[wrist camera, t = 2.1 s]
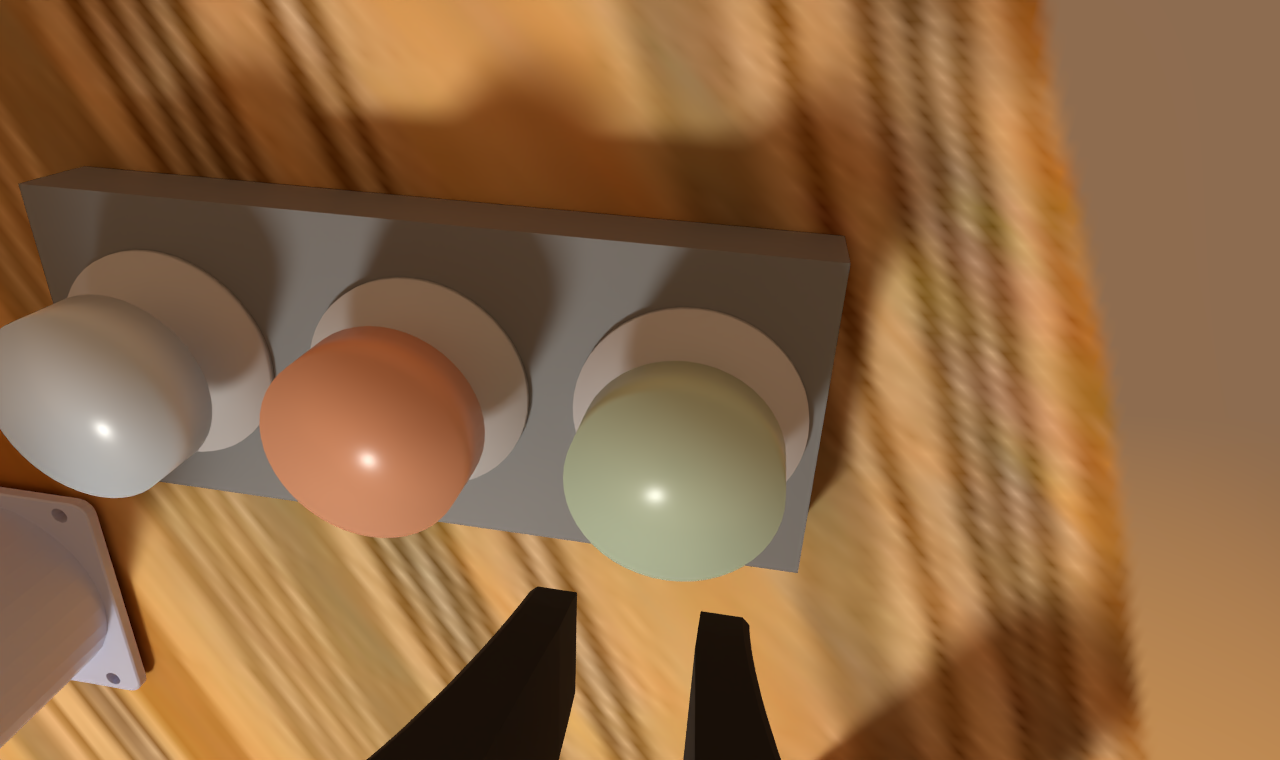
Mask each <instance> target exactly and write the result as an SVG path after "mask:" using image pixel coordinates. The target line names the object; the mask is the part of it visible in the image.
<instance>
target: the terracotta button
mask: <svg viewBox="0 0 1280 760" xmlns="http://www.w3.org/2000/svg"><path fill="white" fill-rule="evenodd" d="M259 427H260V435H261V440H262V444H263V448H264V451H265V454H266V456H267V459H268V461H269V463H270V465H271V467H272V469H273V471H274V473H275V474H276V475H277V477H278V478H279V480H280V481H281V483H282V484H283V485H284V487H285V488H286V489H287V490H288V491H289V493H290V494H291V495H292V496H293V497H294V498H295V499H296V500H297V501H298V502H299V503H301V504H302V505H303V506H304V507H306V508H307V509H308V510H309V511H311V512H312V513H314V514H315V515H317V516H318V517H320V518H321V519H323V520H325V521H326V522H328V523H330V524H332V525H334V526H336V527H339V528H341V529H344V530H346V531H349V532H353V533H356V534H360V535H364V536H369V537H379V538H395V537H402V536H408V535H411V534H415V533H418V532H420V531H422V530H425V529H427V528H429V527H430V526H432V525H433V524H435V523H436V522H438V521H439V520H440V519H441V518H442V517H443V516H444V515H445V514H446V513H447V512H448V510H449V509H450V508H451V506H452V505H453V503H454V502H455V500H456V499H457V497H458V496H459V494H460V492H461V491H462V489H463V488H464V486H465V485H466V483H467V482H468V480H469V478H470V477H471V475H472V474H473V472H474V471H475V469H476V467H477V465H478V463H479V461H480V458H481V455H482V453H483V447H484V442H485V427H484V419H483V415H482V411H481V407H480V404H479V402H478V399H477V397H476V395H475V393H474V391H473V389H472V387H471V385H470V384H469V382H468V381H467V379H466V378H465V377H464V375H463V374H462V373H461V371H460V370H459V369H458V368H457V367H456V366H455V365H454V364H453V363H452V362H451V361H450V360H449V359H448V358H447V357H446V356H445V355H444V354H442V353H441V352H440V351H438V350H437V349H436V348H434V347H433V346H431V345H430V344H428V343H426V342H424V341H423V340H421V339H419V338H417V337H415V336H412V335H410V334H408V333H405V332H402V331H398V330H395V329H391V328H385V327H379V326H360V327H352V328H348V329H343V330H341V331H338V332H336V333H333V334H331V335H329V336H328V337H326V338H324V339H323V340H321V341H320V342H319V343H317V344H316V345H315V346H314V347H312V348H311V349H310V350H308V351H307V352H306V353H304V354H303V355H302V356H301V357H299V358H298V359H297V360H295V361H294V362H293V363H291V364H290V365H289V366H288V367H286V368H285V369H284V370H283V371H282V372H280V373H279V374H278V375H277V376H276V378H275V379H274V380H273V381H272V382H271V384H270V386H269V387H268V389H267V391H266V393H265V395H264V398H263V401H262V404H261V410H260V421H259Z"/></svg>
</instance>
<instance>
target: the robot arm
mask: <svg viewBox="0 0 1280 760" xmlns="http://www.w3.org/2000/svg"><path fill="white" fill-rule="evenodd" d="M576 616H577V592H570V591H563V590H557V589H550V588H544V587H536V588H535V589H533V590H532V591H530V592H529V594H528V595H527V596H526V598H525V599H524V600H523V601H522V603H521V604H520V605H519V606H518V608H517V609H516V610H515V611H514V612H513V614H512V615H511V616H510V617H509V618H508V620H507V621H506V622H505V623H504V624H503V626H502V627H501V628H500V629H499V630H498V631H497V632H496V634H495V635H494V636H493V637H492V638H491V639H490V640H489V641H488V643H487V644H486V645H485V646H484V647H483V648H482V649H481V650H480V652H479V653H478V654H477V655H476V656H475V657H474V658H473V659H472V660H471V661H470V662H469V663H468V664H467V665H466V666H465V667H464V668H463V670H462V671H461V672H460V673H459V674H458V675H457V676H456V677H455V678H454V679H453V680H452V681H451V682H450V683H449V684H448V685H447V686H446V687H445V688H444V689H443V690H442V691H441V692H440V693H439V694H438V695H437V696H436V697H435V698H434V699H433V700H432V701H431V702H430V703H429V704H428V705H427V706H426V707H425V708H424V709H423V710H421V711H420V712H419V713H418V714H417V715H416V716H415V717H414V718H413V719H412V720H411V721H410V722H409V723H408V724H407V725H406V726H405V727H404V728H403V729H401V730H400V731H399V732H398V733H397V734H396V735H395V736H394V737H393V738H391V739H390V740H389V741H388V742H387V743H386V744H385V745H383V746H382V747H381V748H380V749H379V750H378V751H377V752H375V753H374V754H373V755H372V756H371V757H369V758H368V759H367V760H559V756H560V752H561V748H562V744H563V740H564V736H565V732H566V728H567V724H568V720H569V716H570V712H571V707H572V703H573V699H574V695H575V674H576ZM70 680H76V681H81V682H87V683H92V684H98V685H104V686H109V687H115V688H120V689H126V690H137V689H139V688H140V687H141V685H142V684H143V683H144V682H145V681H146V673H145V670H144V667H143V664H142V660H141V657H140V654H139V650H138V647H137V644H136V641H135V637H134V634H133V631H132V628H131V624H130V621H129V618H128V614H127V611H126V608H125V605H124V601H123V598H122V595H121V592H120V588H119V585H118V582H117V578H116V575H115V572H114V569H113V565H112V562H111V559H110V556H109V552H108V549H107V546H106V542H105V539H104V536H103V533H102V529H101V526H100V523H99V520H98V516H97V513H96V511H95V509H94V507H93V506H92V505H91V504H90V503H88V502H87V501H85V500H82V499H79V498H73V497H66V496H59V495H53V494H46V493H39V492H32V491H26V490H19V489H12V488H5V487H0V748H1V747H2V746H3V745H4V744H5V743H6V742H7V741H8V740H9V739H10V738H12V737H13V736H14V735H15V734H16V733H17V732H18V731H19V730H20V729H21V728H22V727H23V726H24V725H25V724H26V723H27V722H28V721H29V720H30V719H31V718H32V717H33V716H34V715H35V714H36V713H37V712H38V711H39V710H40V709H41V708H42V707H43V706H44V705H45V704H46V703H47V702H48V701H49V700H51V699H52V698H53V697H54V696H55V695H56V694H57V693H58V692H59V691H60V690H61V689H62V688H63V687H64V686H65V685H66V684H67V683H68V682H69V681H70ZM683 760H781V758H780V756H779V753H778V750H777V746H776V743H775V740H774V737H773V734H772V731H771V727H770V724H769V721H768V718H767V715H766V711H765V708H764V704H763V700H762V697H761V693H760V688H759V684H758V680H757V676H756V672H755V667H754V662H753V656H752V650H751V642H750V633H749V624H748V623H747V622H746V621H745V620H744V619H743V618H742V617H735V616H729V615H722V614H716V613H709V612H702V611H701V614H700V620H699V626H698V633H697V640H696V646H695V655H694V664H693V674H692V683H691V693H690V702H689V712H688V721H687V731H686V740H685V750H684V759H683Z"/></svg>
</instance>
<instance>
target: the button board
mask: <svg viewBox="0 0 1280 760" xmlns="http://www.w3.org/2000/svg"><path fill="white" fill-rule="evenodd" d="M19 188H20V191H21V195H22V198H23V201H24V205H25V208H26V212H27V215H28V218H29V222H30V225H31V229H32V232H33V236H34V239H35V242H36V246H37V249H38V253H39V256H40V259H41V263H42V266H43V270H44V273H45V276H46V280H47V283H48V287H49V290H50V293H51V297H52V300H53V304H54V303H57V302H59V301H61V300H64V299H66V298H69V297H73V296H76V295H85V294H93V295H103V296H109V297H113V298H116V299H120V300H123V301H126V302H128V303H130V304H133V305H135V306H137V307H139V308H141V309H142V310H144V311H146V312H148V313H149V314H151V315H152V316H154V317H155V318H157V319H158V320H160V321H161V322H162V323H163V324H164V325H166V326H167V327H168V328H169V329H170V330H171V331H172V332H173V333H174V334H175V335H176V336H177V337H178V338H179V339H180V340H181V341H182V342H183V343H184V345H185V346H186V347H187V348H188V349H189V351H190V352H191V354H192V355H193V357H194V358H195V360H196V361H197V363H198V365H199V367H200V368H201V370H202V372H203V374H204V377H205V379H206V382H207V384H208V388H209V392H210V395H211V402H212V421H211V427H210V430H209V433H208V436H207V438H206V440H205V441H204V443H203V445H202V446H201V447H200V448H199V449H198V450H197V451H196V452H195V453H194V454H193V455H191V456H190V457H189V458H188V459H186V460H185V461H184V462H183V463H181V464H180V465H179V466H178V467H176V468H175V469H174V470H173V471H171V472H170V473H169V474H168V475H166V476H165V477H164V478H163V479H161V480H160V481H159V482H166V483H173V484H180V485H187V486H194V487H201V488H208V489H215V490H222V491H229V492H236V493H243V494H250V495H257V496H264V497H271V498H278V499H285V500H292V501H297V500H296V499H295V498H294V497H293V496H292V495H291V494H290V493H289V491H288V490H287V489H286V488H285V487H284V485H283V484H282V483H281V481H280V480H279V478H278V477H277V475H276V474H275V473H274V471H273V469H272V467H271V465H270V463H269V461H268V459H267V456H266V454H265V451H264V448H263V444H262V440H261V435H260V427H259V421H260V410H261V404H262V401H263V398H264V395H265V393H266V391H267V389H268V387H269V386H270V384H271V382H272V381H273V380H274V379H275V378H276V376H277V375H278V374H279V373H280V372H282V371H283V370H284V369H285V368H286V367H288V366H289V365H290V364H291V363H293V362H294V361H295V360H297V359H298V358H299V357H301V356H302V355H303V354H304V353H306V352H307V351H308V350H310V349H311V348H312V347H314V346H315V345H316V344H317V343H319V342H320V341H321V340H323V339H324V338H326V337H328V336H329V335H331V334H333V333H336V332H338V331H341V330H343V329H348V328H352V327H360V326H379V327H385V328H391V329H395V330H398V331H402V332H405V333H408V334H410V335H412V336H415V337H417V338H419V339H421V340H423V341H424V342H426V343H428V344H430V345H431V346H433V347H434V348H436V349H437V350H438V351H440V352H441V353H442V354H444V355H445V356H446V357H447V358H448V359H449V360H450V361H451V362H452V363H453V364H454V365H455V366H456V367H457V368H458V369H459V370H460V371H461V373H462V374H463V375H464V377H465V378H466V379H467V381H468V382H469V384H470V385H471V387H472V389H473V391H474V393H475V395H476V397H477V399H478V402H479V404H480V407H481V411H482V415H483V419H484V427H485V442H484V447H483V453H482V455H481V458H480V461H479V463H478V465H477V467H476V469H475V471H474V472H473V474H472V475H471V477H470V478H469V480H468V482H467V483H466V485H465V486H464V488H463V489H462V491H461V492H460V494H459V496H458V497H457V499H456V500H455V502H454V503H453V505H452V506H451V508H450V509H449V510H448V512H447V513H446V514H445V515H444V516H443V517H442V518H441V519H440V520H439V521H438V522H445V523H452V524H459V525H466V526H473V527H480V528H487V529H494V530H501V531H508V532H515V533H522V534H529V535H536V536H543V537H550V538H557V539H564V540H571V541H578V542H585V543H591V542H590V541H589V540H588V539H587V538H586V537H585V536H584V534H583V533H582V532H581V530H580V529H579V527H578V526H577V524H576V523H575V521H574V519H573V517H572V515H571V513H570V510H569V508H568V505H567V502H566V498H565V493H564V486H563V471H564V463H565V459H566V455H567V452H568V450H569V447H570V445H571V443H572V441H573V438H574V436H575V434H576V432H577V430H578V428H579V426H580V424H581V421H582V419H583V417H584V415H585V413H586V411H587V409H588V407H589V405H590V404H591V402H592V401H593V399H594V398H595V397H596V395H597V394H598V393H599V392H600V391H601V389H603V388H604V387H605V386H606V385H607V384H608V383H609V382H610V381H612V380H613V379H615V378H616V377H618V376H619V375H621V374H623V373H625V372H627V371H629V370H631V369H633V368H636V367H639V366H642V365H645V364H650V363H655V362H662V361H689V362H694V363H700V364H704V365H708V366H711V367H715V368H717V369H720V370H722V371H724V372H727V373H729V374H731V375H733V376H734V377H736V378H738V379H739V380H741V381H743V382H744V383H745V384H747V385H748V386H749V387H750V388H752V389H753V390H754V391H755V392H756V393H757V394H758V395H759V396H760V397H761V398H762V399H763V400H764V401H765V403H766V404H767V405H768V406H769V408H770V409H771V410H772V412H773V414H774V416H775V417H776V419H777V421H778V423H779V426H780V428H781V431H782V433H783V438H784V442H785V448H786V501H785V510H784V514H783V518H782V521H781V524H780V526H779V528H778V531H777V532H776V534H775V536H774V537H773V539H772V541H771V542H770V543H769V544H768V546H767V547H766V548H765V549H764V550H763V551H762V552H761V553H760V554H759V555H758V556H757V557H756V558H755V559H753V560H752V561H750V562H749V563H747V564H746V566H753V567H760V568H767V569H773V570H780V571H787V572H794V573H798V567H799V562H800V556H801V550H802V544H803V538H804V532H805V527H806V521H807V515H808V509H809V503H810V497H811V491H812V486H813V480H814V474H815V468H816V462H817V456H818V451H819V445H820V439H821V433H822V427H823V421H824V415H825V410H826V404H827V398H828V392H829V386H830V380H831V375H832V369H833V363H834V357H835V351H836V345H837V339H838V334H839V328H840V322H841V316H842V310H843V304H844V299H845V293H846V287H847V281H848V275H849V269H850V259H849V254H848V249H847V245H846V240H845V236H839V235H828V234H817V233H806V232H795V231H784V230H773V229H762V228H752V227H741V226H730V225H719V224H708V223H697V222H686V221H675V220H664V219H653V218H643V217H632V216H621V215H610V214H599V213H588V212H577V211H566V210H555V209H544V208H534V207H523V206H512V205H501V204H490V203H479V202H468V201H457V200H446V199H435V198H425V197H414V196H403V195H392V194H381V193H370V192H359V191H348V190H337V189H326V188H316V187H305V186H294V185H283V184H272V183H261V182H250V181H239V180H228V179H217V178H206V177H196V176H185V175H174V174H163V173H152V172H141V171H130V170H119V169H108V168H97V167H87V166H84V167H80V168H76V169H72V170H68V171H65V172H61V173H57V174H53V175H49V176H46V177H42V178H38V179H34V180H31V181H27V182H23V183H19Z"/></svg>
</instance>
